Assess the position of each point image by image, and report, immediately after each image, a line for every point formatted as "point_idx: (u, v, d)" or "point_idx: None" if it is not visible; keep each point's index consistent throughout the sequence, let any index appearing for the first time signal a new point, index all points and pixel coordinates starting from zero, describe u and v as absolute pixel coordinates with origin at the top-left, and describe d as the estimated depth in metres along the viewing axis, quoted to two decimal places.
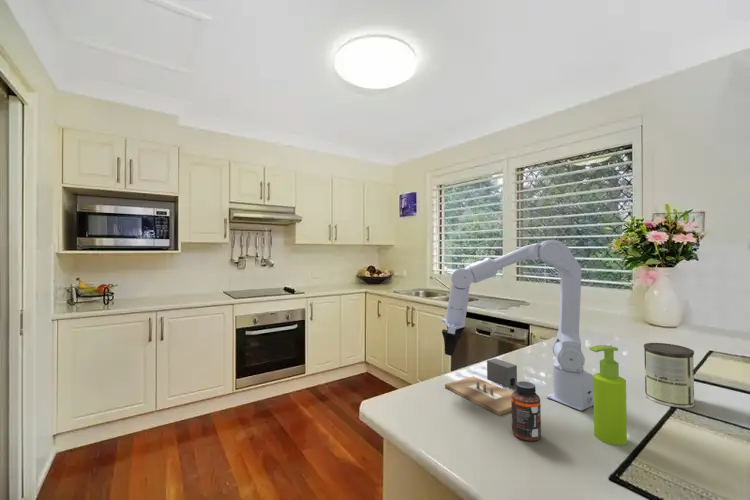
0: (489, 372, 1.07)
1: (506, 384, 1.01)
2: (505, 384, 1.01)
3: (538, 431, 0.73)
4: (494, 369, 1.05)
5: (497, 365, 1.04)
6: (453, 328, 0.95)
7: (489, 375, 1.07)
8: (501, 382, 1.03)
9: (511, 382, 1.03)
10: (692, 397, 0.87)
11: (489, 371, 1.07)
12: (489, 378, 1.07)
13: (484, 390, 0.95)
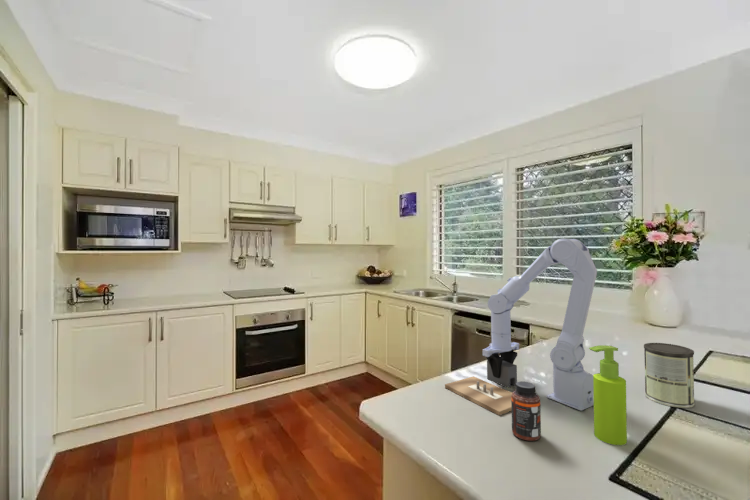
0: (489, 372, 1.07)
1: (506, 384, 1.01)
2: (505, 384, 1.01)
3: (538, 431, 0.73)
4: None
5: None
6: (486, 351, 1.01)
7: (489, 375, 1.07)
8: (501, 382, 1.03)
9: (511, 382, 1.03)
10: (692, 397, 0.87)
11: (489, 371, 1.07)
12: (489, 378, 1.07)
13: (484, 390, 0.95)
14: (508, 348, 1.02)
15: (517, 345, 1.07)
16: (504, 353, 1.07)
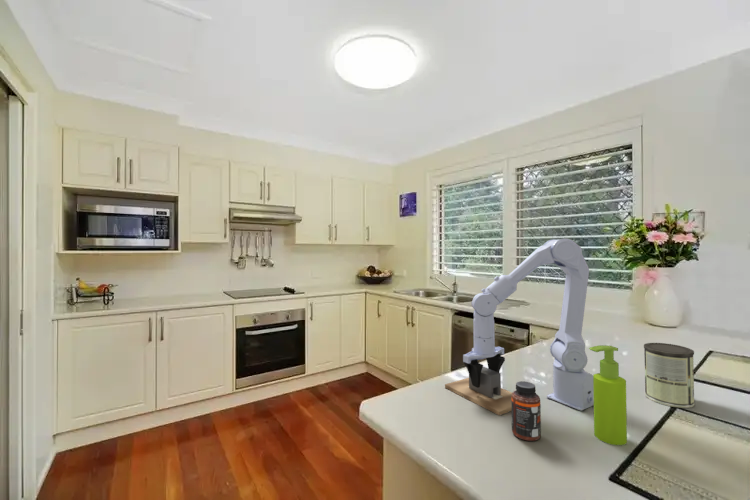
0: None
1: (488, 394, 0.92)
2: (487, 394, 0.92)
3: (538, 431, 0.73)
4: None
5: None
6: (466, 357, 0.91)
7: (471, 383, 0.97)
8: (483, 392, 0.93)
9: (494, 391, 0.94)
10: (692, 397, 0.87)
11: None
12: (471, 387, 0.97)
13: None
14: (491, 353, 0.93)
15: (502, 350, 0.98)
16: (490, 358, 0.98)
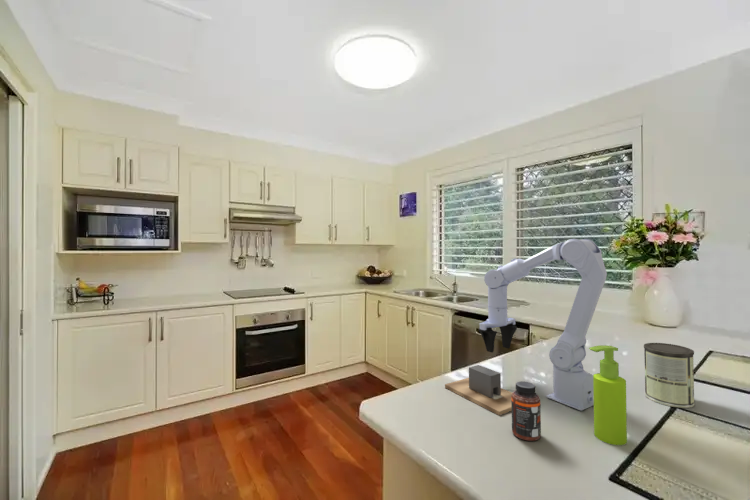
0: (471, 380, 0.97)
1: (488, 394, 0.92)
2: (487, 394, 0.92)
3: (538, 431, 0.73)
4: (476, 377, 0.95)
5: (479, 373, 0.94)
6: (483, 324, 1.03)
7: (471, 383, 0.97)
8: (483, 392, 0.93)
9: (494, 391, 0.94)
10: (692, 397, 0.87)
11: (471, 379, 0.97)
12: (471, 387, 0.97)
13: None
14: (504, 322, 1.05)
15: (513, 320, 1.09)
16: (504, 327, 1.10)
